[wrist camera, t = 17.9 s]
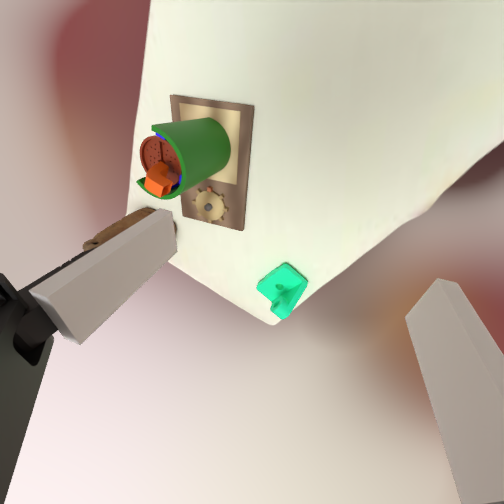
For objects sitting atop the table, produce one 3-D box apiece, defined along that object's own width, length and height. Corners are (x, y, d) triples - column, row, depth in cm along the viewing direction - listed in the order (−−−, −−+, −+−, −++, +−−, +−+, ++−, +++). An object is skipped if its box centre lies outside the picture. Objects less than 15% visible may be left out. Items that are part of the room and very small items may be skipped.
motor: (194, 109, 40) (103, 117, 25) (237, 130, 40) (173, 151, 24) (186, 162, 47) (110, 195, 31) (223, 180, 46) (165, 223, 31)
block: (143, 224, 63) (80, 266, 47) (144, 202, 58) (73, 240, 43) (176, 241, 63) (123, 288, 47) (180, 220, 58) (122, 265, 42)
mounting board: (254, 105, 38) (248, 106, 36) (243, 228, 53) (239, 235, 51) (173, 95, 41) (162, 94, 39) (185, 214, 56) (178, 219, 54)
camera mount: (286, 259, 55) (277, 287, 47) (308, 278, 56) (303, 309, 48) (257, 281, 62) (245, 308, 54) (277, 298, 63) (268, 327, 55)
